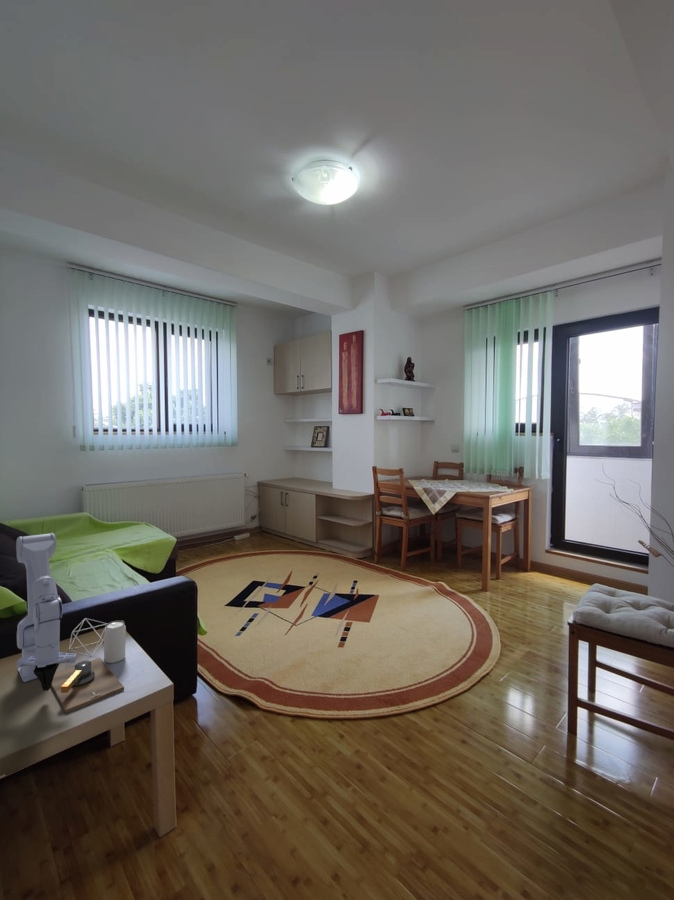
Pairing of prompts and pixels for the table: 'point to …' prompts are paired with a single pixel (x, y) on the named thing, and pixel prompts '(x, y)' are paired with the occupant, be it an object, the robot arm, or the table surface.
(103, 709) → the table surface
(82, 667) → the lever door handle
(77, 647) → the geometric polyhedron
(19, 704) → the table surface
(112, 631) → the can
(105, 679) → the stand
